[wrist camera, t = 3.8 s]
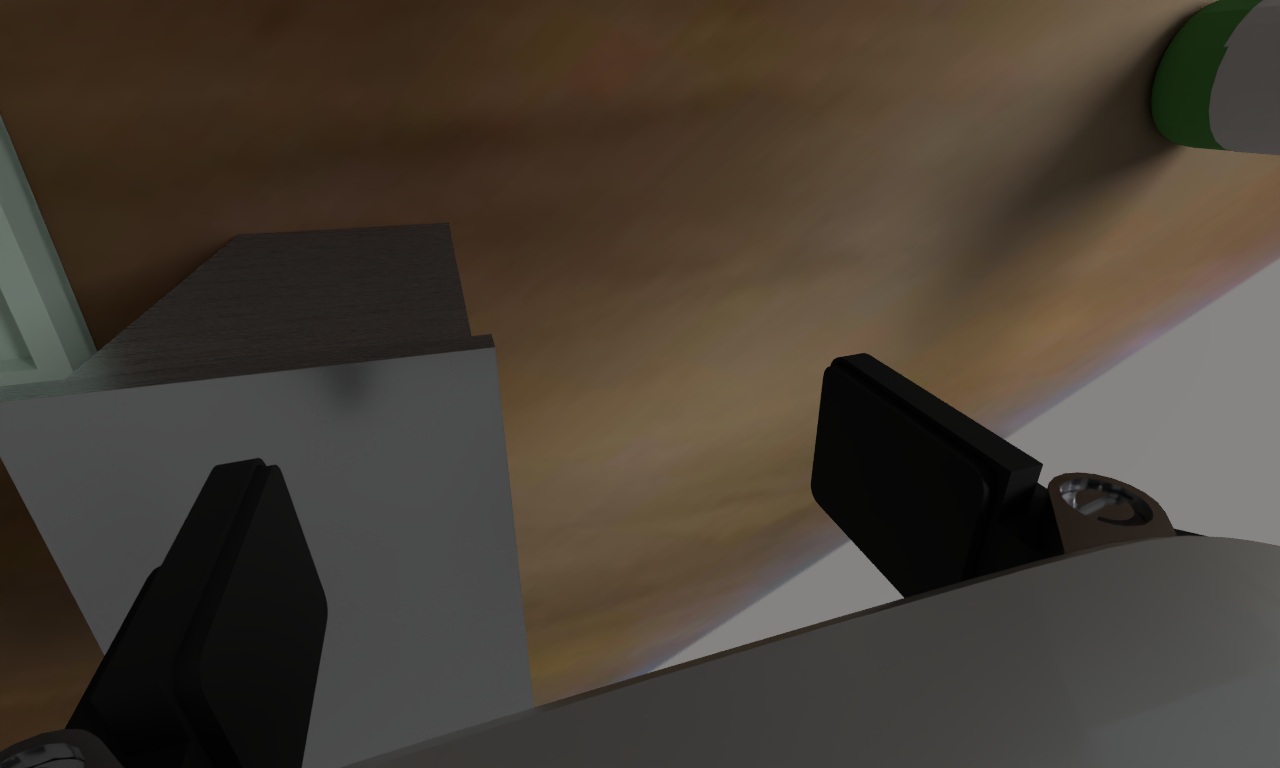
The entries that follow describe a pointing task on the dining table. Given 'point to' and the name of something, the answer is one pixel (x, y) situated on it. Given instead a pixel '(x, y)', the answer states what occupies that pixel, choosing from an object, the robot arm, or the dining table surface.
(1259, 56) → the wine bottle
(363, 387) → the metal box
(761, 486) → the dining table surface
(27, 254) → the tray
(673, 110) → the dining table surface
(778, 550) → the dining table surface
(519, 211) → the dining table surface
